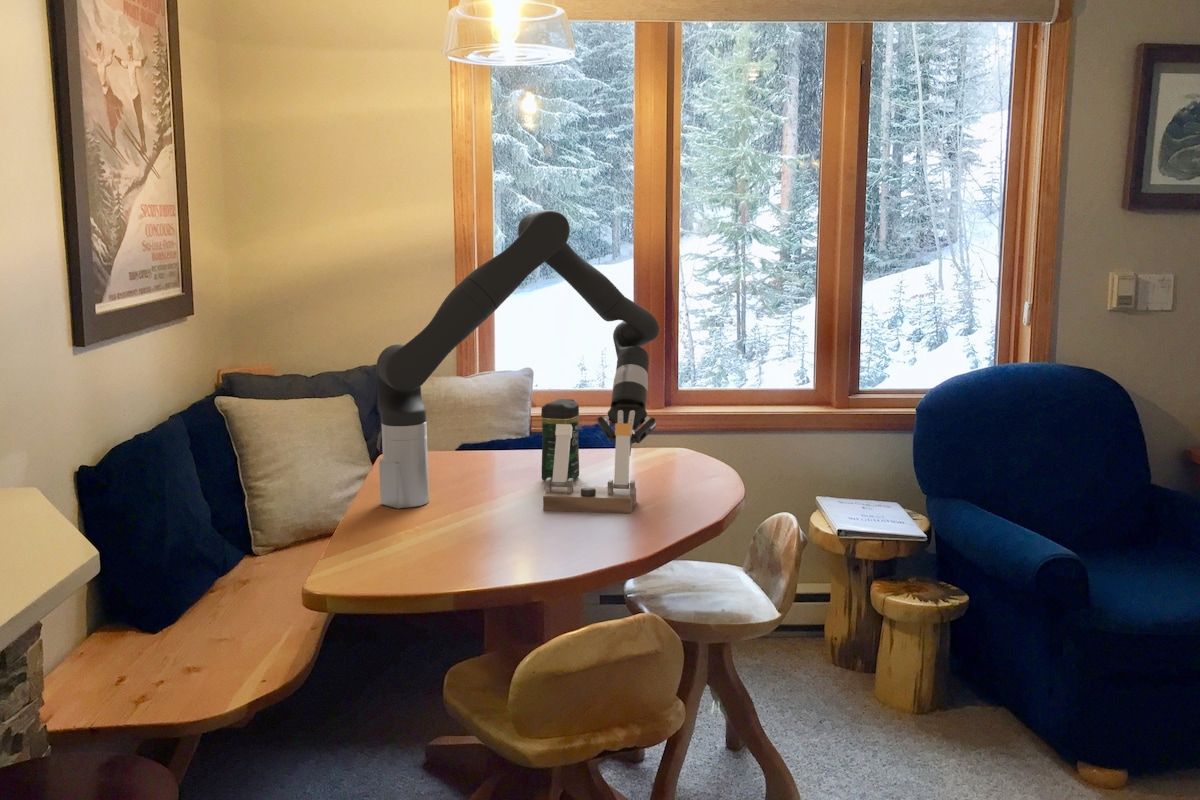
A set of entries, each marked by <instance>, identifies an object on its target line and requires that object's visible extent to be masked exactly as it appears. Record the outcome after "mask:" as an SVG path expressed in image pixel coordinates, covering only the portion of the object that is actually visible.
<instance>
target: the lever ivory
mask: <svg viewBox="0 0 1200 800" xmlns="http://www.w3.org/2000/svg"><path fill="white" fill-rule="evenodd" d="M572 429H573V427H572V425H571V424H556V432H555V435H556V444H555V456H554V467H553V478H552V482H551V486H552V487H567V475H568V463H569V451H570V440H571V438H572Z"/></svg>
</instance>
